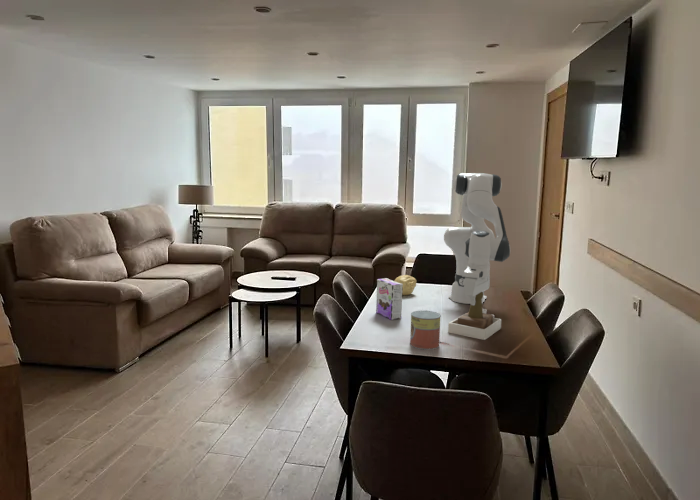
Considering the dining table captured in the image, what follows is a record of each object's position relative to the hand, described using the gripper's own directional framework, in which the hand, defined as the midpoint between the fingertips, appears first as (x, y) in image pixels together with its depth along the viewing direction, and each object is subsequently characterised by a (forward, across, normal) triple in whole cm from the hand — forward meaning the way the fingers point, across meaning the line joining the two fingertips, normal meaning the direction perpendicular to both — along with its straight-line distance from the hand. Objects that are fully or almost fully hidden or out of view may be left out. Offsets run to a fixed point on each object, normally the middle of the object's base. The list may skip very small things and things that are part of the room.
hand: (476, 303), depth 208 cm
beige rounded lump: (+13, -43, -57) cm, 73 cm away
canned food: (+13, +27, -10) cm, 31 cm away
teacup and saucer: (+13, -24, -4) cm, 27 cm away
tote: (+13, 0, 0) cm, 13 cm away
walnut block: (+12, 0, 0) cm, 12 cm away
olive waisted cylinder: (+6, 0, 0) cm, 6 cm away
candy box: (+13, 0, -42) cm, 43 cm away
